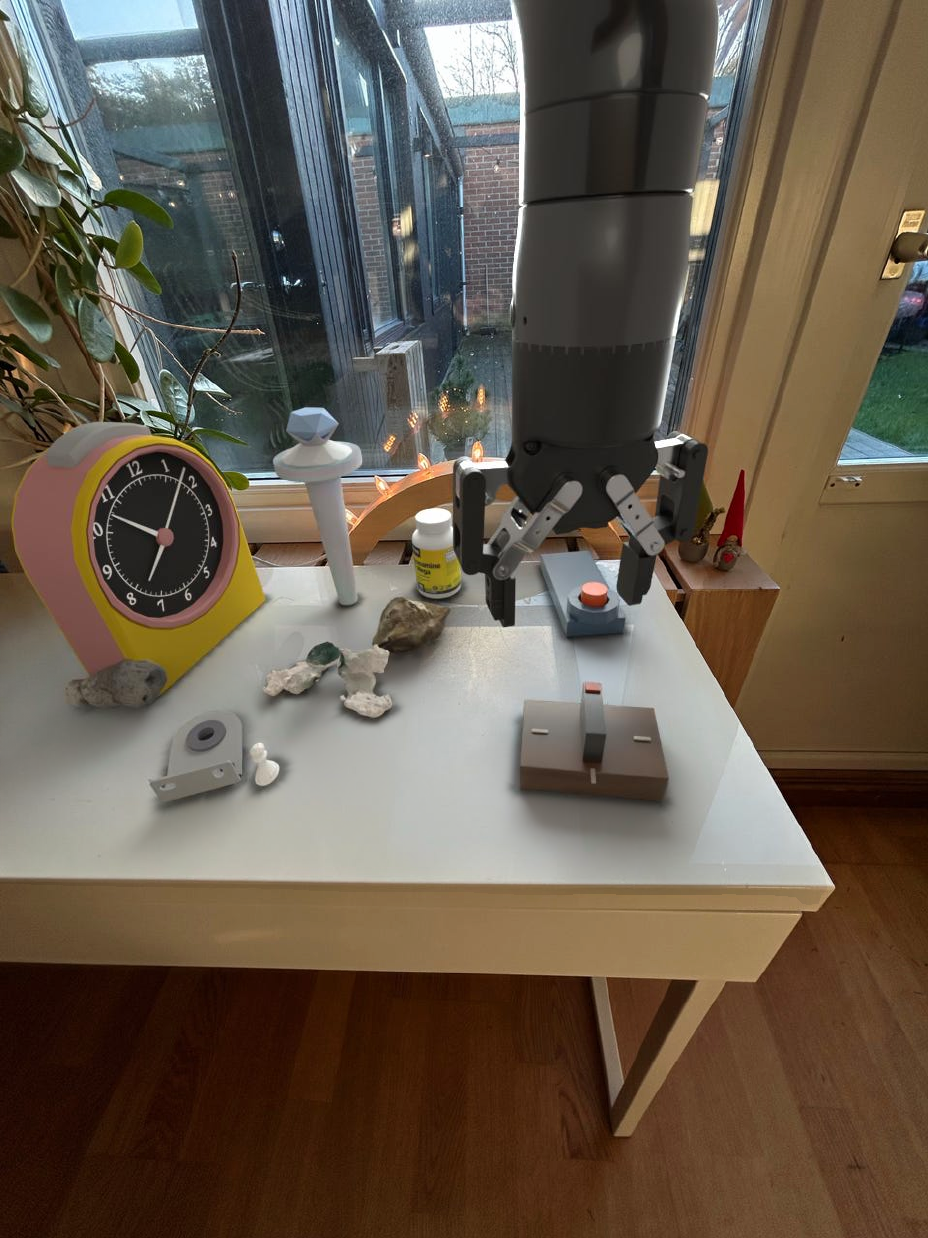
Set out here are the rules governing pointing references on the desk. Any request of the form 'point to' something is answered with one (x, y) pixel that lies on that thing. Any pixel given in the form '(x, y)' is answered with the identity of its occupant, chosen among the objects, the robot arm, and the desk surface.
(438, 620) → the fossilized seashell
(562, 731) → the panel
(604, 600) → the button
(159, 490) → the alarm clock
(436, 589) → the pill bottle
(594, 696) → the red-tipped grey bar
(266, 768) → the chess pawn
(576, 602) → the button box
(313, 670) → the rock
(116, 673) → the stone
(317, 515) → the novelty light stick
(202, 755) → the bracket
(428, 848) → the desk surface
